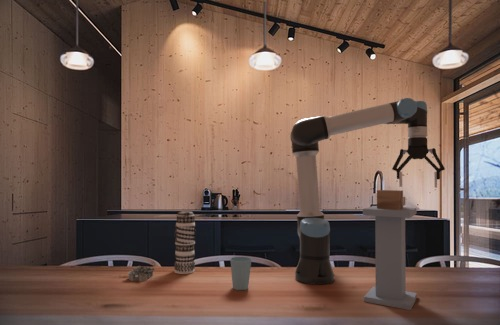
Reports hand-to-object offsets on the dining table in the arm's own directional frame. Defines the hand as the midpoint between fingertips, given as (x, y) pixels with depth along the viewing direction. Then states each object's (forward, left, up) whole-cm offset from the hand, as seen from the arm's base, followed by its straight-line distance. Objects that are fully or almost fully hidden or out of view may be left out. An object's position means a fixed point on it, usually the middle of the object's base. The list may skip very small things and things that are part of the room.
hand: (417, 187), depth 152 cm
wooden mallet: (-4, -30, -7) cm, 31 cm away
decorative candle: (-84, -52, -37) cm, 105 cm away
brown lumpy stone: (-92, -69, -37) cm, 120 cm away
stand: (-4, -41, -37) cm, 55 cm away
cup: (-52, -58, -37) cm, 86 cm away
